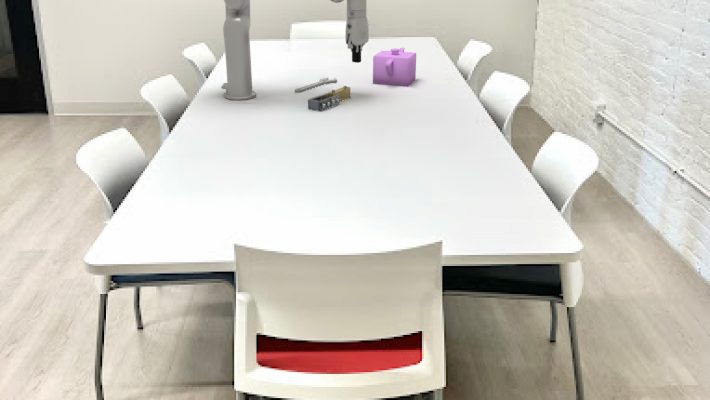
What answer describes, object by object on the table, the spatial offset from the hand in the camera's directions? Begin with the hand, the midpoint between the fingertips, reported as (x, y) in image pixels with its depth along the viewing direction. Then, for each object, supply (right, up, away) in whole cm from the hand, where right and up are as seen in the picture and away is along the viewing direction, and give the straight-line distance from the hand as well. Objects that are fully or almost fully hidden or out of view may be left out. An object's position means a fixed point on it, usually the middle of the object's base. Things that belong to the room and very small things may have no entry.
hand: (356, 61), depth 295 cm
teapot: (+16, -4, +26) cm, 31 cm away
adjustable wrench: (-17, -7, +18) cm, 26 cm away
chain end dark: (-14, -20, -14) cm, 28 cm away
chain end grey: (-10, -18, -9) cm, 23 cm away
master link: (-7, -16, -4) cm, 18 cm away
